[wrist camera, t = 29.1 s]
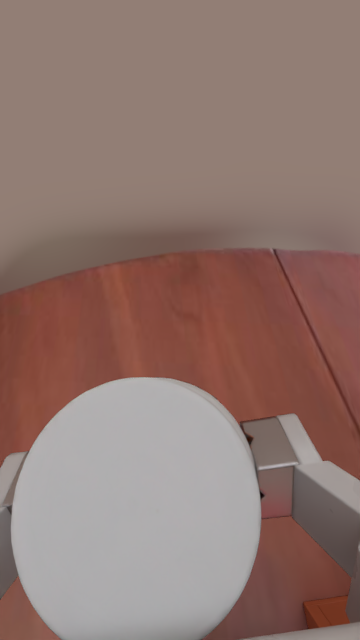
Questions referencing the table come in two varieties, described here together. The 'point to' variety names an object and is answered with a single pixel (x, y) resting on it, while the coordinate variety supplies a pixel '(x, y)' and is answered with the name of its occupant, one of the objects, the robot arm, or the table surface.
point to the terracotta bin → (326, 612)
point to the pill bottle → (137, 514)
